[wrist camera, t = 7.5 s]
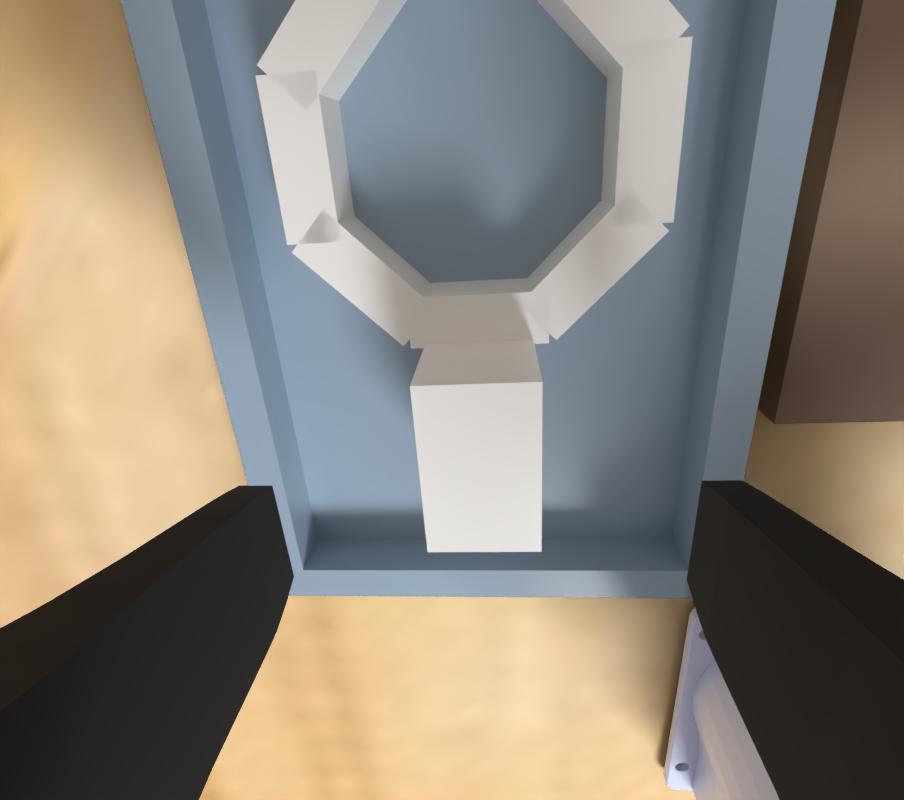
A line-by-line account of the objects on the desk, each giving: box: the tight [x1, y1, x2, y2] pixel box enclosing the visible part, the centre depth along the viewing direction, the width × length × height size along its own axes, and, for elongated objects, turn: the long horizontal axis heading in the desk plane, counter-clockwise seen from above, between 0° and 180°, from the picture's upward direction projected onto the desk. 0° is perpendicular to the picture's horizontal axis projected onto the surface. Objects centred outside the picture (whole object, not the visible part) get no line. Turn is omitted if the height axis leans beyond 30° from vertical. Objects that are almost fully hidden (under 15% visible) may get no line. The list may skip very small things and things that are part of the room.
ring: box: [255, 0, 693, 552], centre depth 11 cm, size 12×8×4 cm
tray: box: [120, 0, 837, 598], centre depth 12 cm, size 20×13×2 cm, turn 4°
